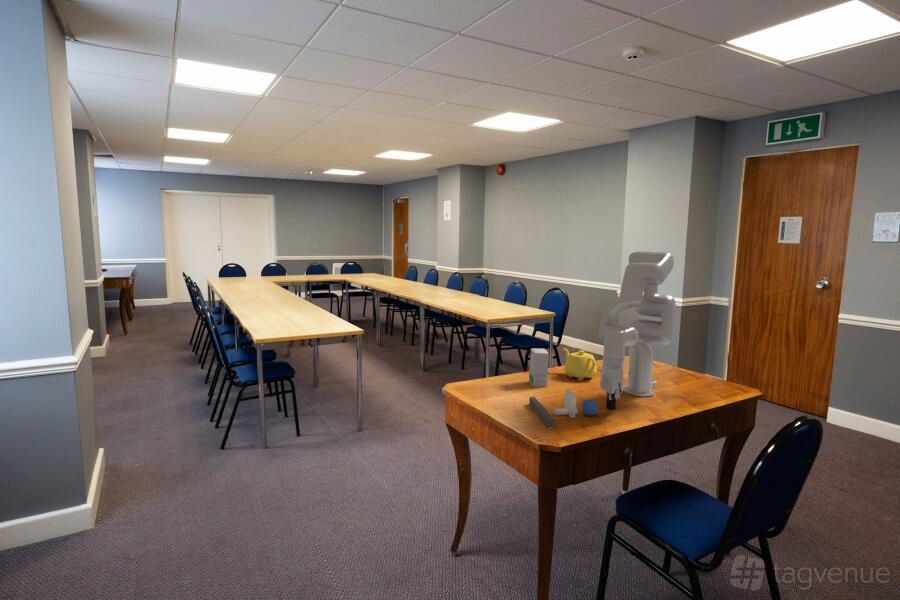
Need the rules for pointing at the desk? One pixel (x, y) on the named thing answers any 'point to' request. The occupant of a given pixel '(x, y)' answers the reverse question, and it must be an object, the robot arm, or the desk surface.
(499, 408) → the desk surface
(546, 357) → the skincare box
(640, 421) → the desk surface
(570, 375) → the teapot
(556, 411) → the front pin
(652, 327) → the robot arm
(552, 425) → the bar
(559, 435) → the desk surface
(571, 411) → the back left pin
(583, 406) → the ball
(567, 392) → the back right pin
